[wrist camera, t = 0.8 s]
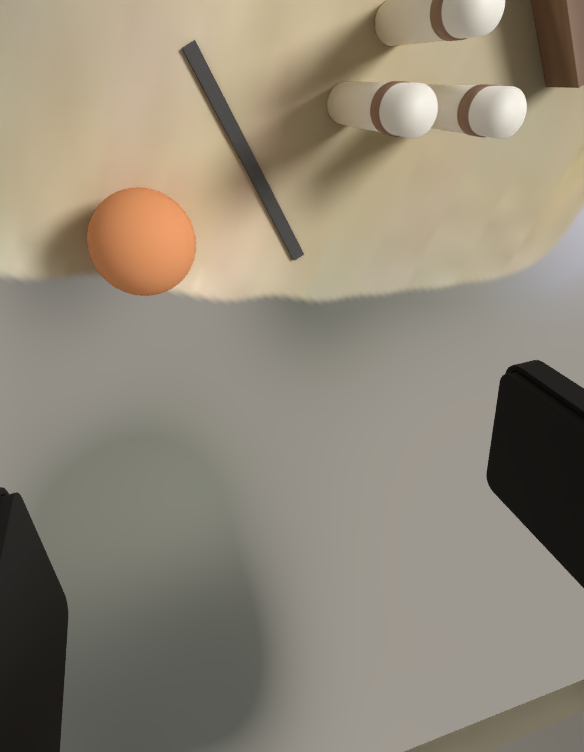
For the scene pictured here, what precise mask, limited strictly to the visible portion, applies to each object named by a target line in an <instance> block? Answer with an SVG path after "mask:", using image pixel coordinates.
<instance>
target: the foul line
mask: <svg viewBox="0 0 584 752" xmlns="http://www.w3.org/2000/svg"><path fill="white" fill-rule="evenodd" d="M182 49H183V51H184V53H185V55H186V57H187V58H188V60H189V62H190V64H191V66H192V68H193V70H194V72H195V74H196V76H197V77H198V79H199V81H200V83H201V85H202V87H203V89H204V91H205V93H206V95H207V96H208V98H209V100H210V102H211V104H212V106H213V108H214V110H215V112H216V114H217V115H218V117H219V119H220V121H221V123H222V125H223V127H224V129H225V131H226V133H227V134H228V136H229V138H230V140H231V142H232V144H233V146H234V148H235V150H236V152H237V153H238V155H239V157H240V159H241V161H242V163H243V165H244V167H245V169H246V171H247V172H248V174H249V176H250V178H251V180H252V182H253V184H254V186H255V188H256V190H257V192H258V193H259V195H260V197H261V199H262V201H263V203H264V205H265V207H266V209H267V211H268V212H269V214H270V216H271V218H272V220H273V222H274V224H275V226H276V228H277V230H278V231H279V233H280V235H281V237H282V239H283V241H284V243H285V245H286V247H287V249H288V250H289V252H290V254H291V256H292V258H293V260H296V259H297V258H299V257H301V256H302V255H304V253H303V251H302V249H301V247H300V245H299V243H298V242H297V240H296V238H295V236H294V234H293V232H292V230H291V228H290V226H289V224H288V222H287V220H286V218H285V216H284V214H283V212H282V210H281V208H280V206H279V204H278V202H277V200H276V198H275V196H274V194H273V192H272V190H271V189H270V187H269V185H268V183H267V181H266V179H265V177H264V175H263V173H262V171H261V169H260V167H259V165H258V163H257V161H256V159H255V157H254V155H253V153H252V151H251V149H250V147H249V145H248V143H247V141H246V139H245V137H244V136H243V134H242V132H241V130H240V128H239V126H238V124H237V122H236V120H235V118H234V116H233V114H232V112H231V110H230V108H229V106H228V104H227V102H226V100H225V98H224V96H223V94H222V92H221V90H220V88H219V86H218V84H217V83H216V81H215V79H214V77H213V75H212V73H211V71H210V69H209V67H208V65H207V63H206V61H205V59H204V57H203V55H202V53H201V51H200V49H199V47H198V45H197V43H196V41H195V40H194V41H193V42H191V43H190V44H188V45H186V46H185V47H183V48H182Z"/></svg>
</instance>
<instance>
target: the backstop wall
mask: <svg viewBox="0 0 584 752" xmlns="http://www.w3.org/2000/svg"><path fill="white" fill-rule="evenodd" d="M531 1H532V7H533V13H534V19H535V24H536V30H537V36H538V41H539V47H540V53H541V59H542V64H543V70H544V76H545V81H546V87H571V88H579V87H581V86H582V85H584V0H531Z"/></svg>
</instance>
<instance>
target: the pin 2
mask: <svg viewBox="0 0 584 752" xmlns="http://www.w3.org/2000/svg"><path fill="white" fill-rule="evenodd" d="M426 85H428V86H429V87H430V88H431V89H432V90H433V91H434V93H435V95H436V98H437V102H438V112H437V116H436V119H435V122H434V124H433V126H432V127H431V128H433V129H439V130H446V131H452V132H459V133H465V134H468V135H471V136H478V137H491V138H497V139H505V138H508V137H510V136H512V135H513V134H514V133H515V132H516V131H517V130H518V129H519V128H520V126H521V125H522V123H523V121H524V118H525V115H526V110H527V103H526V98H525V96H524V94H523V92H522V91H521V90H520V89H519V88H517V87H513V86H497V85H476V86H475V85H429V84H426Z"/></svg>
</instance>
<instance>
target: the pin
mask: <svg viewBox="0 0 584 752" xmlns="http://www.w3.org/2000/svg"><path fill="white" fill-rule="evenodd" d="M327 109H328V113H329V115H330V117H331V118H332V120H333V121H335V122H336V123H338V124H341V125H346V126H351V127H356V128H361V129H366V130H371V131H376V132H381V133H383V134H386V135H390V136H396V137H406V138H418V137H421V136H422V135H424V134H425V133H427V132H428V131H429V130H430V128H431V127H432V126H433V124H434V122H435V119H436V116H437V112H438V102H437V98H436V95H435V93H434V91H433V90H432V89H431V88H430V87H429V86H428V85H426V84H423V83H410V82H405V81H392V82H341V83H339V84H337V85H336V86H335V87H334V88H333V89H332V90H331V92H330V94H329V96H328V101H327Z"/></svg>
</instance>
